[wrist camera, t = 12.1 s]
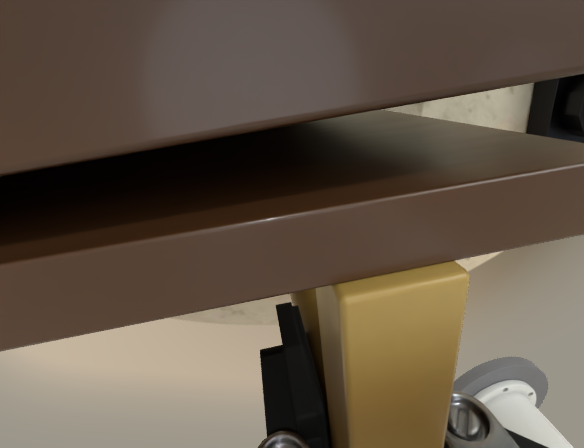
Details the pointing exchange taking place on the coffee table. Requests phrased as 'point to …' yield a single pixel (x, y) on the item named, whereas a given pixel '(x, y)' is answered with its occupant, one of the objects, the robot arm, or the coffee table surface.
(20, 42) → the cupboard
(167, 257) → the door
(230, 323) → the coffee table surface
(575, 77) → the button block
